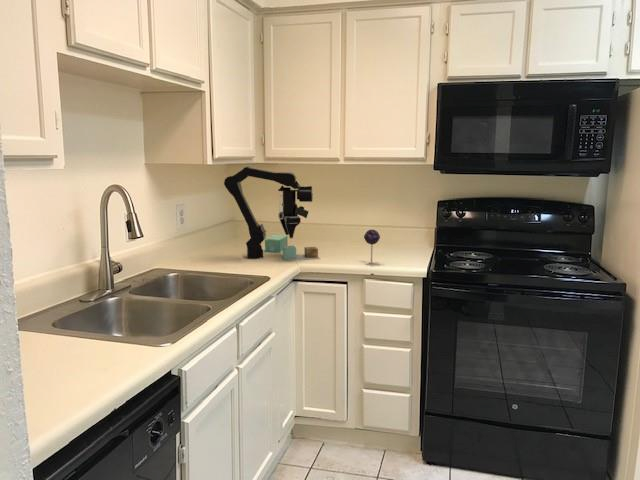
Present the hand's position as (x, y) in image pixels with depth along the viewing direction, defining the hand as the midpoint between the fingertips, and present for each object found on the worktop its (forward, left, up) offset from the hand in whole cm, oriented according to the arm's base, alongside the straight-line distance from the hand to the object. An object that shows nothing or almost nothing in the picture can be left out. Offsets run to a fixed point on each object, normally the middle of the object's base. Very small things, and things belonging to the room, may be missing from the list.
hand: (289, 236), depth 237 cm
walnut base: (+10, 0, -10) cm, 14 cm away
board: (+5, 0, -11) cm, 12 cm away
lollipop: (+33, -16, -11) cm, 38 cm away
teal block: (0, 0, -10) cm, 10 cm away
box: (-2, +20, -11) cm, 23 cm away
